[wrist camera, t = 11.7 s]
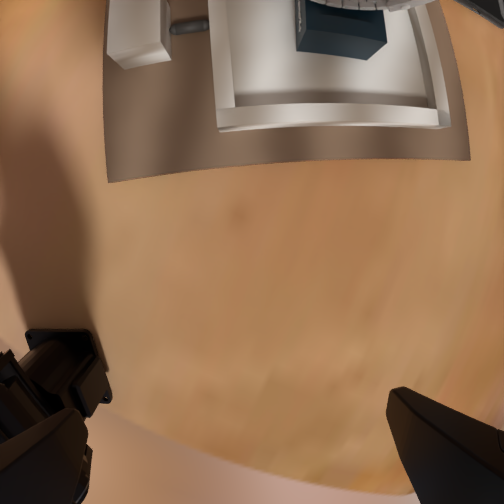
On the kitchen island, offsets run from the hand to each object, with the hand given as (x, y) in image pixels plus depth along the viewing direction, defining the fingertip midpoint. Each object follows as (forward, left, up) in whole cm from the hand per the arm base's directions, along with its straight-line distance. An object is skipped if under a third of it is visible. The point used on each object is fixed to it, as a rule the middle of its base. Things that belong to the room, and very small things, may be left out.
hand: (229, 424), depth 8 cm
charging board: (+5, +16, -13) cm, 21 cm away
